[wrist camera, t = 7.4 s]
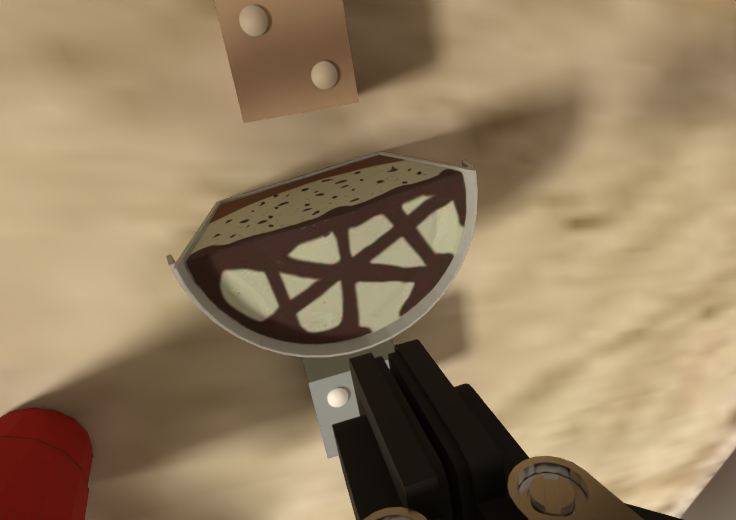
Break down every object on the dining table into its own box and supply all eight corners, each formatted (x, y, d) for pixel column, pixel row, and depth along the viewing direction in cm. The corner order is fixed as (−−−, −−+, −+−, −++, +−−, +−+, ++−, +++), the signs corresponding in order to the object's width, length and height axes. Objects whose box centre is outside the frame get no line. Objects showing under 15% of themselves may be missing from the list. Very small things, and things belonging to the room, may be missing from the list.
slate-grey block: (297, 338, 29) (308, 384, 25) (376, 316, 30) (401, 357, 25) (315, 405, 31) (328, 460, 26) (388, 383, 32) (414, 432, 27)
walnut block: (217, 11, 23) (211, -12, 18) (319, -4, 24) (339, -29, 19) (243, 118, 25) (243, 122, 20) (338, 101, 26) (359, 102, 21)
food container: (230, 310, 28) (224, 416, 18) (188, 210, 25) (157, 273, 16) (428, 242, 29) (512, 308, 20) (405, 143, 27) (488, 165, 18)
